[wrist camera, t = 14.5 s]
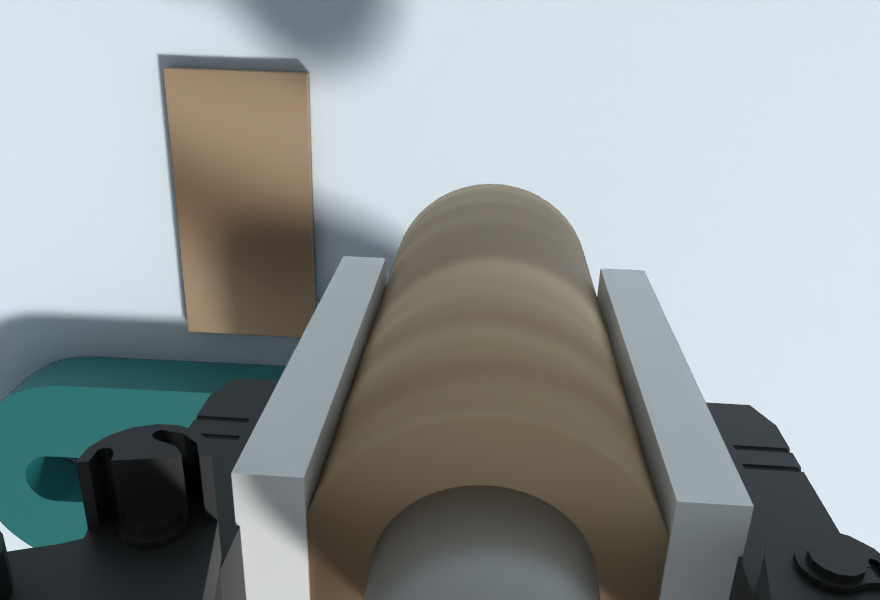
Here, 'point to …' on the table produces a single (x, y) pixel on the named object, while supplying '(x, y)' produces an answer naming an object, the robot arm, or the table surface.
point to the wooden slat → (243, 198)
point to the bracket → (89, 429)
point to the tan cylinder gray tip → (487, 426)
